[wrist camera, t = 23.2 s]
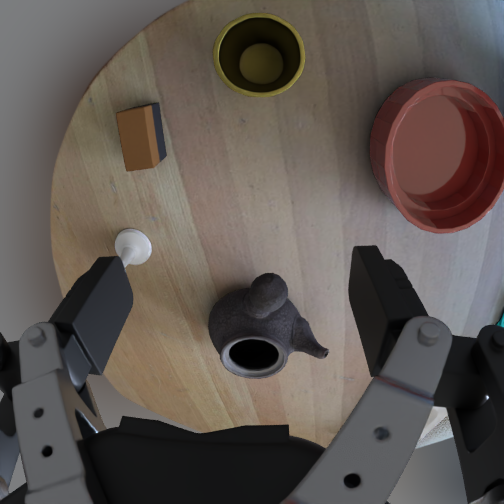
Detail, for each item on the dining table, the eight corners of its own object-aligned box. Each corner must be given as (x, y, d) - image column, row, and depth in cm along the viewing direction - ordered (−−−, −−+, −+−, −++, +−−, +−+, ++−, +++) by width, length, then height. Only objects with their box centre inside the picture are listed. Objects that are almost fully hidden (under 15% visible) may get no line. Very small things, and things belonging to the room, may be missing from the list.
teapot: (318, 345, 47) (326, 399, 38) (216, 347, 47) (208, 401, 39) (328, 233, 37) (346, 285, 28) (196, 238, 38) (177, 290, 29)
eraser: (133, 107, 30) (115, 113, 26) (159, 102, 30) (144, 107, 26) (141, 159, 33) (125, 171, 29) (166, 156, 33) (153, 168, 29)
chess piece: (149, 266, 40) (123, 318, 32) (115, 256, 40) (83, 305, 31) (154, 234, 38) (125, 283, 29) (117, 224, 37) (81, 269, 29)
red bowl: (367, 69, 27) (386, 69, 22) (488, 89, 26) (516, 96, 21) (363, 212, 35) (377, 235, 31) (474, 212, 34) (496, 232, 29)
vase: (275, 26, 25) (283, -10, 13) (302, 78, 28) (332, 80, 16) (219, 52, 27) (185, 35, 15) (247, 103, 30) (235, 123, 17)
